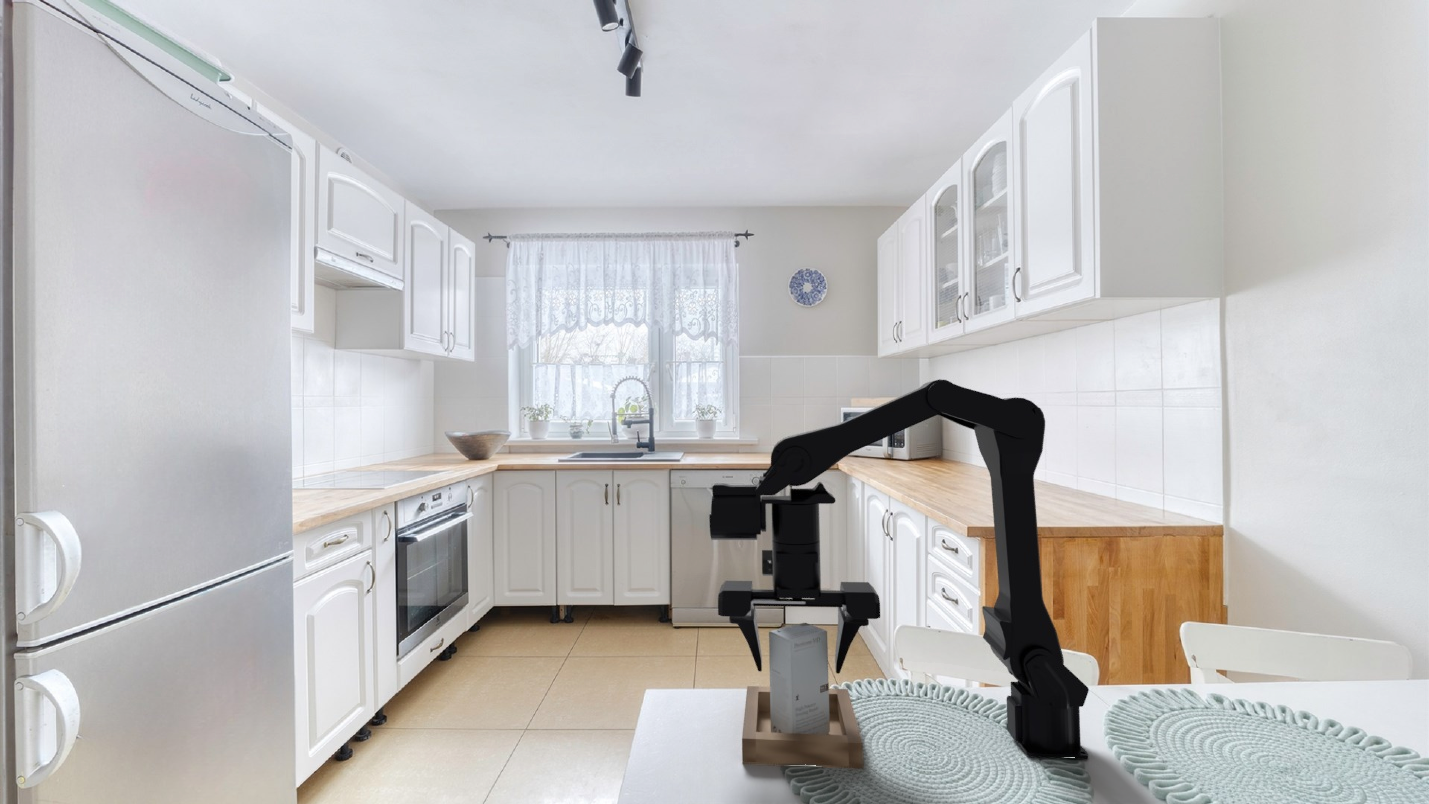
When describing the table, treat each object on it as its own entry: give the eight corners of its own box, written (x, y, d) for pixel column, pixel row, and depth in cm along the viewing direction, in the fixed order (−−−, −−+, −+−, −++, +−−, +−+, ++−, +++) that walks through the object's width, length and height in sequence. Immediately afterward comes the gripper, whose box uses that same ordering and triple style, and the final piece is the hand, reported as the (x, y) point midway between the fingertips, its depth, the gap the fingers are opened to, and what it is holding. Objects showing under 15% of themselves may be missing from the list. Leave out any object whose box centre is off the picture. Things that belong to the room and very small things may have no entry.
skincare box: (793, 749, 68) (791, 641, 68) (768, 733, 71) (766, 630, 72) (832, 733, 71) (830, 630, 71) (806, 717, 75) (804, 620, 75)
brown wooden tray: (848, 715, 77) (847, 689, 77) (863, 774, 64) (862, 743, 64) (747, 711, 78) (747, 686, 78) (742, 769, 65) (742, 738, 65)
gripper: (864, 528, 79) (867, 647, 78) (724, 528, 81) (726, 644, 80) (879, 545, 68) (882, 684, 67) (716, 545, 70) (718, 680, 69)
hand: (798, 671), depth 71 cm, fingers open, 9 cm apart
